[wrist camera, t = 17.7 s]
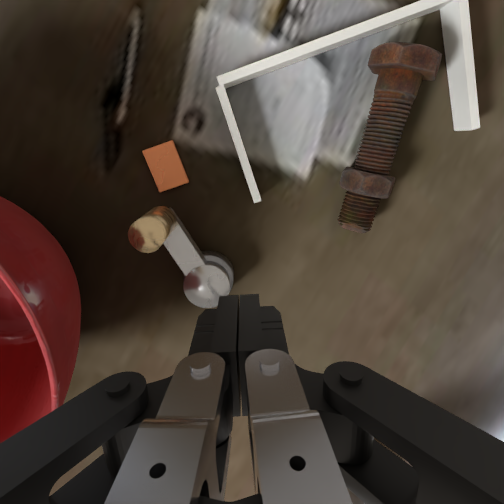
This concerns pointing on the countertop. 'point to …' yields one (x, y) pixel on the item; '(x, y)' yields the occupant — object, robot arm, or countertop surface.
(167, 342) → the countertop surface
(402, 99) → the bolt
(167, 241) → the crank
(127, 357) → the countertop surface
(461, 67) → the corral
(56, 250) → the mixing bowl
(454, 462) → the robot arm
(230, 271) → the small flat pieces
